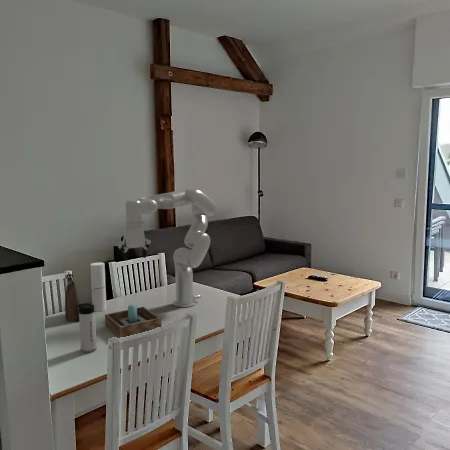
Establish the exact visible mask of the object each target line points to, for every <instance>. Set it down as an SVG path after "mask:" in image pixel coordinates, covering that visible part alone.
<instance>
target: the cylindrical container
mask: <svg viewBox="0 0 450 450" xmlns="http://www.w3.org/2000/svg"><path fill="white" fill-rule="evenodd" d="M90 281H91V282H90V283H91V286H90V287H91V302H92V303H91V304H93V305H94V308H95V309H94V310H95V311H96V312H97V313H98V312H99V311H100V312H104V311H107V293H106V292H107V291H106V290H107V289H106V288H107V287H106V268H105V262H99V261H98V262H92V263H90ZM96 312H95V313H96Z"/></svg>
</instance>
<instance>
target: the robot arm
mask: <svg viewBox="0 0 450 450" xmlns="http://www.w3.org/2000/svg"><path fill="white" fill-rule="evenodd" d="M188 205H190V207H191V212H192V215H193V216H192V217H193V221H192V223H191V226H190V227H189V228H188V230H187V233H186V235H185V236H184V239H183V240H184V241H183V242H184V244H185V246H187V247H188V248H187V247H179V248H177V249H175V250H174V253H173V257H172V258H173V263H174V271H175V273H174V274H175V299H174V300H173V302H172V304H173V306H174V307H177V308H188V307H189V308H190V307H193V306H195V305H196V300H197V299H198V300H199V299H201V298H202V297H201V295H200V294H197V295H196V294H194V286H193V285H194V282H193V281H194V277H193V275H194V273H193V269H195V268H198V267H199V266H200V265H201V264H202V262H203V260H204V258H205V256H206V255H207V252H208V250H209V248H210V245H211V237H210V235H209V234H207V233H206V231H207V228H208V221H209V220H208V217H213V216H215V214H216V213H217V211H218V206H217V204H216V203H215V202H214V200H213V199H212V198H210V197H209V196H208V195H207V194H205V193H204V192H202V191H201V190H200V189H196V188H195V189H194V188H183V189H180V190H175V191H170V192H165V193H160V194H151V195H147V196H146V195H145V196H142V197H139V198H137V199H128V200H126V201H125V223H126V224H125V226H126V227H124V229H123V230H124V231H123V239H122V241H120V242H119V243H117V246H118V248H119V250H120V251H121V252H122V253H123V254H122V257H123V259H124V261H128V260H129V257H128V254H129V253H128V251H129V249H137V248H142V249H141V256H142V257H141V258H144V259H147V250H148V248H149V247H150V246H151V243H152V240H150V239H148V238H146V235H145V231H144V227H143V225H145V221H142V219H143V218H142V215H143V214H145V215H153V214H155V213H156V212H157V210H170V209H175V208H178V207H183V206H184V207H185V206H188Z"/></svg>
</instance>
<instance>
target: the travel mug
mask: <svg viewBox="0 0 450 450" xmlns="http://www.w3.org/2000/svg"><path fill="white" fill-rule="evenodd" d="M78 306H79V321H80V322H79V338H80V351H81V352H82V353H85V354H89V353H90V354H91V353H94V352H95V351H97V333H96V332H97V330H96V312H95V310H94V309H95V308H94V305H93V304H92V303H90V302H89V303H88V302H87V303H85V302H84V303H79V305H78Z"/></svg>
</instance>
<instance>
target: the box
mask: <svg viewBox="0 0 450 450" xmlns="http://www.w3.org/2000/svg"><path fill="white" fill-rule="evenodd" d="M137 315H139V316H141V317H142V318H143V319H145V320H146V321H143V322H138V323H134V324H129V325H125V326H121V325H120V324H118V319H123V318H127V317H128V309H125V310H121V311H116V312H111V313H106V314H104V325H105V328H107V330H108V331H110V332H111V333H112V334H113V335H114V336H115V337H117V338H118V337H119V338H120V337H126V336H130V335H134V334H138V333H142V332H145V331H149V330H152V329H155V328H157V327H161V328H162V317H160V316H159V315H157V314H156V313H154V312H152V311H151V310H149V309H148V308H146V307H145V306H141V307H137ZM119 338H118V339H119Z"/></svg>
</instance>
